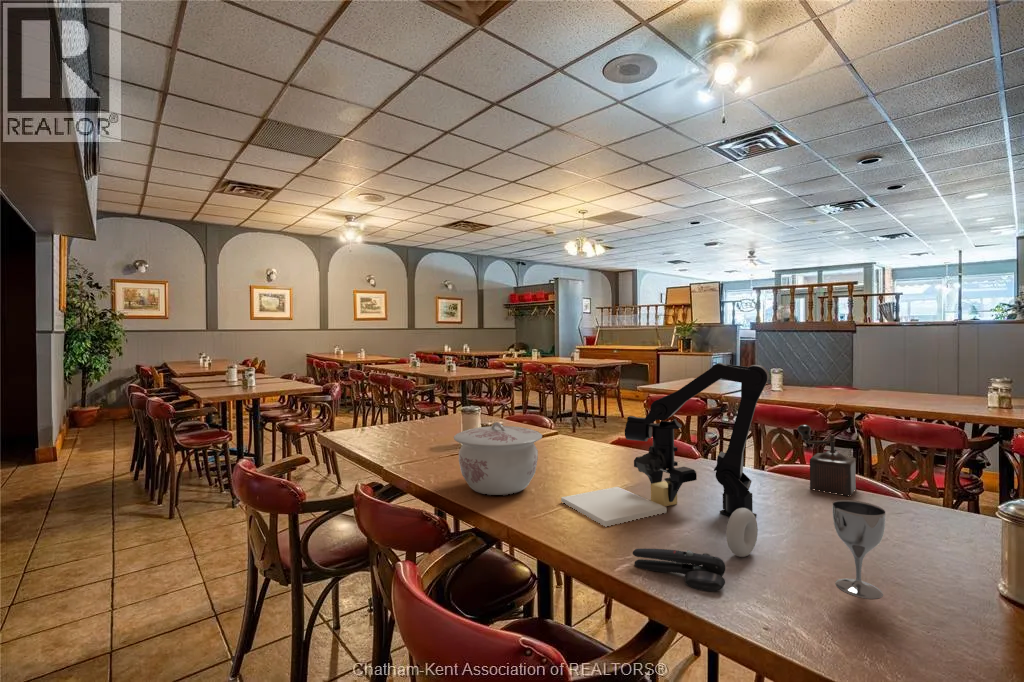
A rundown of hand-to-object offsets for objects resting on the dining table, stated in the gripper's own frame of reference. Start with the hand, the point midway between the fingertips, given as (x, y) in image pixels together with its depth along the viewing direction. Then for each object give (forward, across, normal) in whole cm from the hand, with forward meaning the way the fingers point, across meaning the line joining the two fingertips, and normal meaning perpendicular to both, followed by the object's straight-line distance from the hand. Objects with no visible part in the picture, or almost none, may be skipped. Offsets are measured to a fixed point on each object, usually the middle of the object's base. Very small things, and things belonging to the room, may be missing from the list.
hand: (663, 498), depth 135 cm
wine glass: (+1, +51, -2) cm, 51 cm away
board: (+1, -4, -15) cm, 16 cm away
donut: (+1, +32, -9) cm, 33 cm away
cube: (+1, 0, 0) cm, 1 cm away
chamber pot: (+1, -34, -35) cm, 49 cm away
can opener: (+2, +32, -28) cm, 42 cm away
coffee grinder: (+1, +13, +52) cm, 54 cm away
